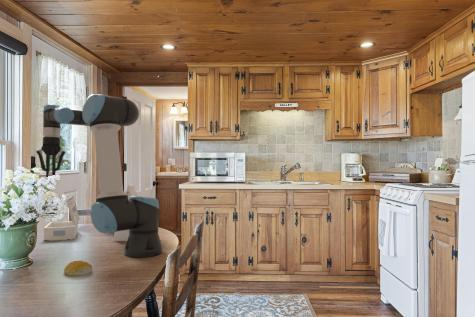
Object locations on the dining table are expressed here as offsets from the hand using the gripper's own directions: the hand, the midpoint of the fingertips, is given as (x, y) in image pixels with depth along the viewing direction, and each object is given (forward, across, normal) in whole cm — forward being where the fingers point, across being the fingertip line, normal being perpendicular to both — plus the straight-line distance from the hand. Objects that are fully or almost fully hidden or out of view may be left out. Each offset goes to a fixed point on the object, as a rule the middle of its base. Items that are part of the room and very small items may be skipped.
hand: (50, 184), depth 174 cm
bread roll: (+26, -20, +63) cm, 71 cm away
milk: (+26, -38, +13) cm, 47 cm away
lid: (+13, -10, 0) cm, 16 cm away
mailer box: (+25, -6, 0) cm, 26 cm away
